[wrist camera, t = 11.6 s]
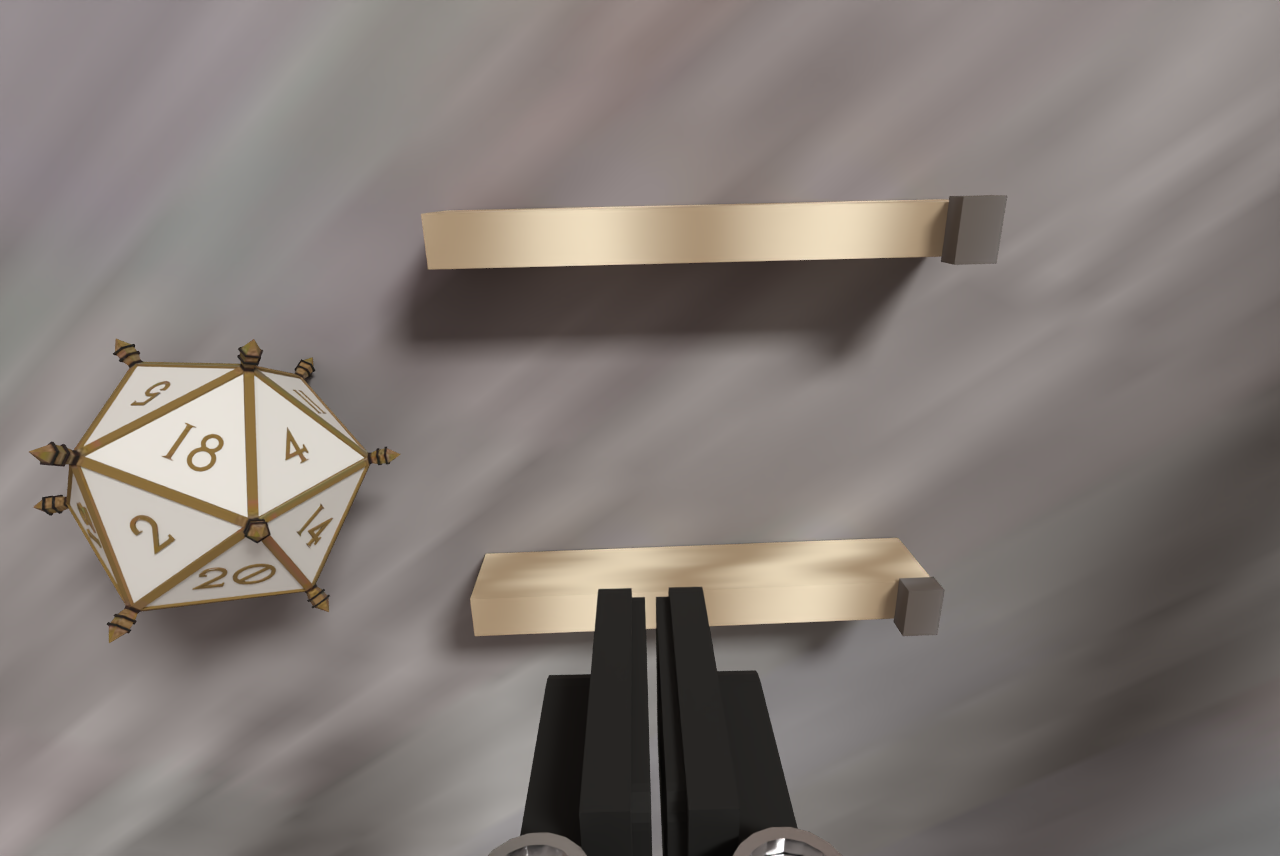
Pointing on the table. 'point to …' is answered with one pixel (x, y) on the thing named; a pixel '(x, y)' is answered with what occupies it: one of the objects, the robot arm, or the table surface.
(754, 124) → the table surface
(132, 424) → the game die
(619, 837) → the robot arm
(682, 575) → the parallel beige rails
